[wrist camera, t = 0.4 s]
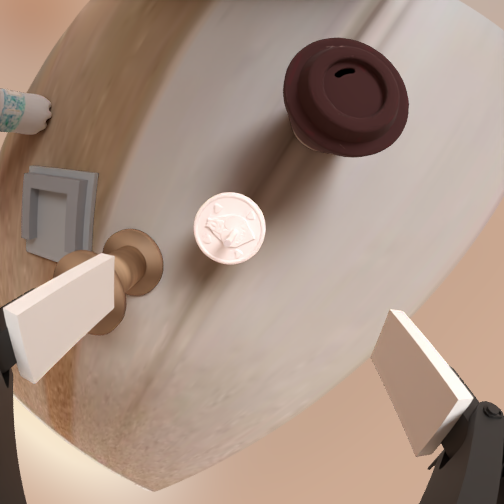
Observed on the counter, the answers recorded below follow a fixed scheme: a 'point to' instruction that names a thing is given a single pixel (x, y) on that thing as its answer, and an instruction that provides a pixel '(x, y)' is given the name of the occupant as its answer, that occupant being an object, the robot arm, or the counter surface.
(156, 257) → the bobbin
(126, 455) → the counter surface
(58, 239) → the notch board
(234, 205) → the smoothie
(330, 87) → the coffee cup
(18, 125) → the bottle
